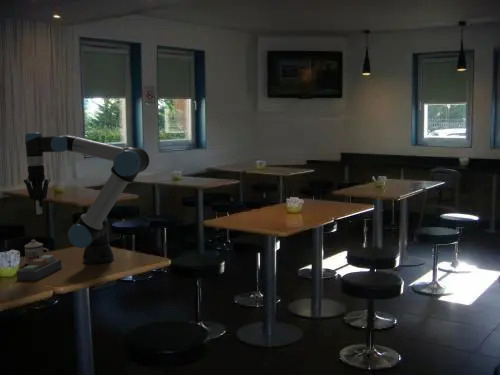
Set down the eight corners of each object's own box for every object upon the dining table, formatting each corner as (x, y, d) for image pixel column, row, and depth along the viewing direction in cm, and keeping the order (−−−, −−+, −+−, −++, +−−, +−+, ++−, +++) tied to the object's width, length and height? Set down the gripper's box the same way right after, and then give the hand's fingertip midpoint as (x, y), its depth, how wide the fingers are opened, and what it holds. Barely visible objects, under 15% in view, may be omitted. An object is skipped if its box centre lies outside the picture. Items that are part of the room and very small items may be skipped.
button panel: (61, 267, 305) (61, 259, 305) (37, 280, 284) (36, 271, 283) (42, 267, 307) (42, 259, 307) (17, 279, 286) (16, 271, 286)
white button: (54, 262, 304) (54, 255, 303) (49, 265, 299) (48, 257, 299) (45, 262, 305) (44, 255, 304) (40, 264, 300) (39, 257, 300)
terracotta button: (47, 266, 297) (46, 258, 297) (41, 268, 292) (40, 261, 292) (37, 266, 298) (37, 258, 298) (32, 268, 293) (31, 261, 293)
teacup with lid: (22, 265, 314) (20, 242, 312) (30, 260, 323) (28, 238, 321) (46, 264, 313) (44, 241, 311) (53, 260, 322) (51, 237, 320)
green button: (39, 273, 290) (38, 265, 290) (33, 275, 286) (32, 268, 285) (29, 272, 292) (29, 265, 291) (24, 275, 287) (23, 267, 286)
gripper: (18, 166, 300) (23, 215, 303) (43, 165, 297) (47, 215, 300) (27, 164, 307) (31, 212, 310) (52, 164, 304) (55, 212, 307)
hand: (39, 213), depth 305 cm, fingers closed
